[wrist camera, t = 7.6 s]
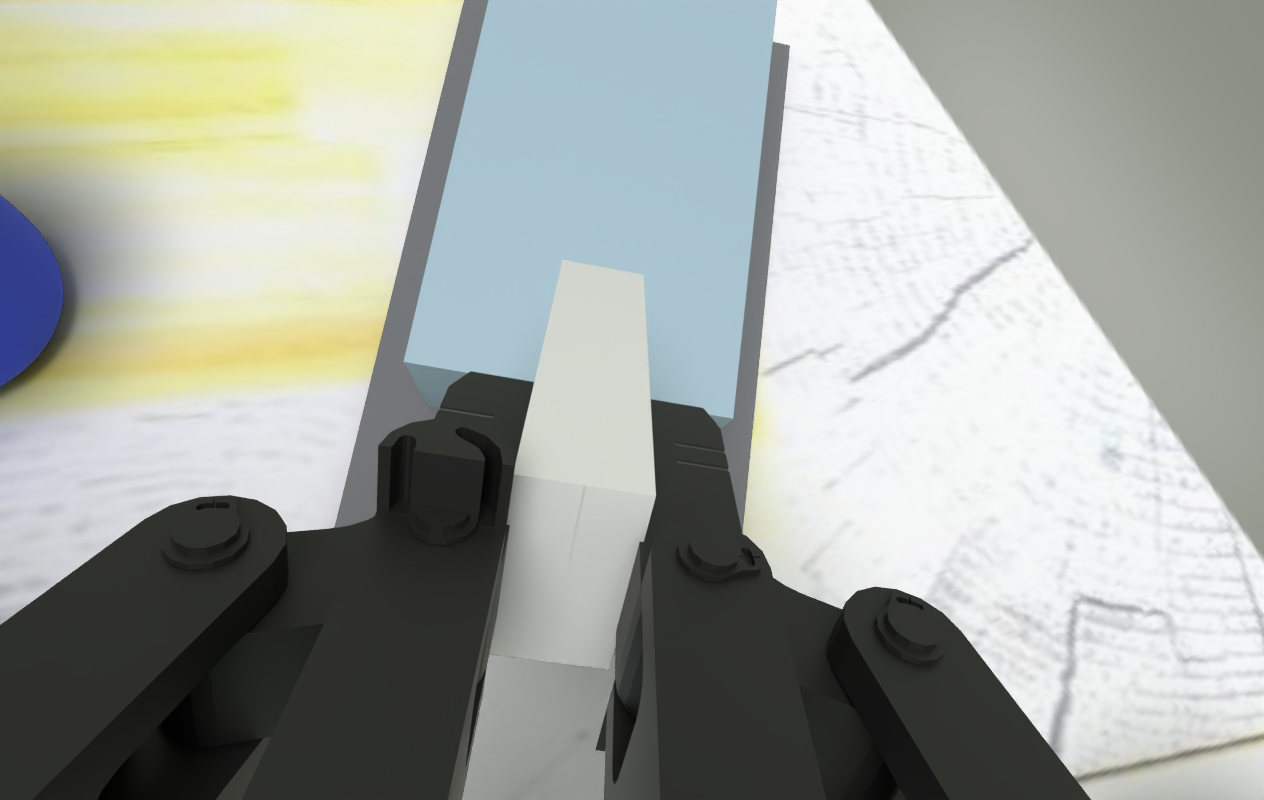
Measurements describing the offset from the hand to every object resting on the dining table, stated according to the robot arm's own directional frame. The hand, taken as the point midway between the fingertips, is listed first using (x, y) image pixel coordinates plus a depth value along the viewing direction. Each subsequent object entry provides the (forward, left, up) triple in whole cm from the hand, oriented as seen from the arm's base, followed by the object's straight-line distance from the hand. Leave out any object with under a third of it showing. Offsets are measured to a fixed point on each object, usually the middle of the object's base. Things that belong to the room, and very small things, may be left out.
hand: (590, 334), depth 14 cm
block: (0, 0, -8) cm, 9 cm away
